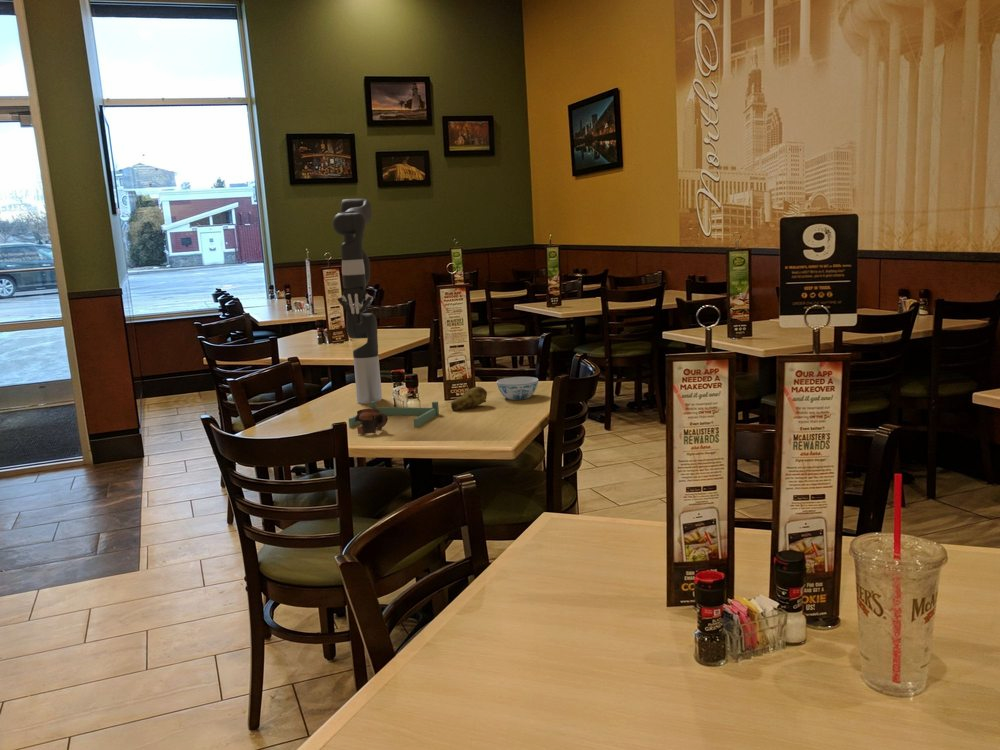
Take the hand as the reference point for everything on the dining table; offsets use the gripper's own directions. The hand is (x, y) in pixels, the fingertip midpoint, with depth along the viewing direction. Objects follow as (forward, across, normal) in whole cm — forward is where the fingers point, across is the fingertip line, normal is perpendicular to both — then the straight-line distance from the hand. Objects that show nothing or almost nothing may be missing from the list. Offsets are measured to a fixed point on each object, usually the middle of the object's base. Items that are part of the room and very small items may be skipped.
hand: (357, 324), depth 283 cm
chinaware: (+32, -47, -28) cm, 63 cm away
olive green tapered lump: (+32, -34, -12) cm, 48 cm away
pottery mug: (+33, -14, +23) cm, 43 cm away
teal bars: (+32, -14, +7) cm, 36 cm away
